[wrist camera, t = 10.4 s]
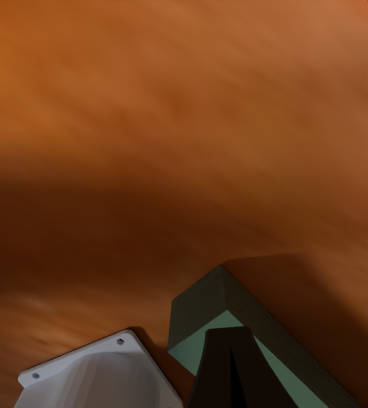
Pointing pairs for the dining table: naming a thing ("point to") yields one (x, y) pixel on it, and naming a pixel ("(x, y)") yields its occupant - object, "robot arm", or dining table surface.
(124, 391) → the robot arm
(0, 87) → the dining table surface
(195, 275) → the dining table surface
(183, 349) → the dark green rectangular beam
